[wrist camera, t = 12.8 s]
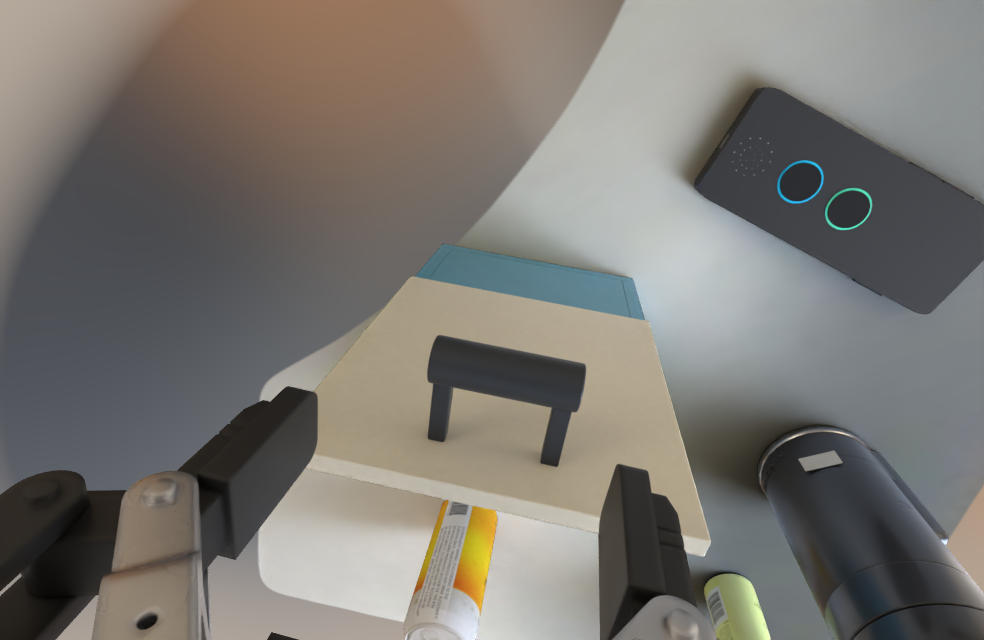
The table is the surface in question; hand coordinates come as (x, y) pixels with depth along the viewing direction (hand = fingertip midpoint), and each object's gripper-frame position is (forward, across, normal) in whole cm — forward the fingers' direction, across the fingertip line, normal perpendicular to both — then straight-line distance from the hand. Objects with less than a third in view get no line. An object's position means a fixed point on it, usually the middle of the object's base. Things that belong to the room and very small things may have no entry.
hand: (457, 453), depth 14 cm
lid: (+12, 0, +5) cm, 13 cm away
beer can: (+31, +2, +33) cm, 45 cm away
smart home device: (+31, -21, -4) cm, 38 cm away
